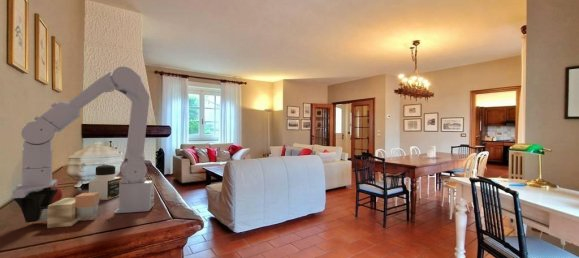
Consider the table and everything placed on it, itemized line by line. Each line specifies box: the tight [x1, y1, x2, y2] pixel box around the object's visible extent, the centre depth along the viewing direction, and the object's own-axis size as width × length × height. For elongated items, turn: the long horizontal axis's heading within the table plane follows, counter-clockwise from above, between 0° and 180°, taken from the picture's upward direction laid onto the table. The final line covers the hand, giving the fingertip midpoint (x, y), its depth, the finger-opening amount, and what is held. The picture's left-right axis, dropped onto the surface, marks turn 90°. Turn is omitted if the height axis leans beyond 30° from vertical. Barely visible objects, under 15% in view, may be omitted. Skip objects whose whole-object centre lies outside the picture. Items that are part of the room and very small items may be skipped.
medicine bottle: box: [88, 164, 122, 201], centre depth 96 cm, size 7×7×12 cm
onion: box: [50, 185, 63, 205], centre depth 83 cm, size 6×6×8 cm
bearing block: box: [46, 197, 83, 229], centre depth 70 cm, size 5×8×6 cm, turn 17°
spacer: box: [74, 192, 100, 208], centre depth 71 cm, size 4×4×3 cm
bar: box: [24, 203, 99, 224], centre depth 70 cm, size 15×3×3 cm, turn 107°
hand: (36, 219), depth 68 cm, fingers open, 3 cm apart
